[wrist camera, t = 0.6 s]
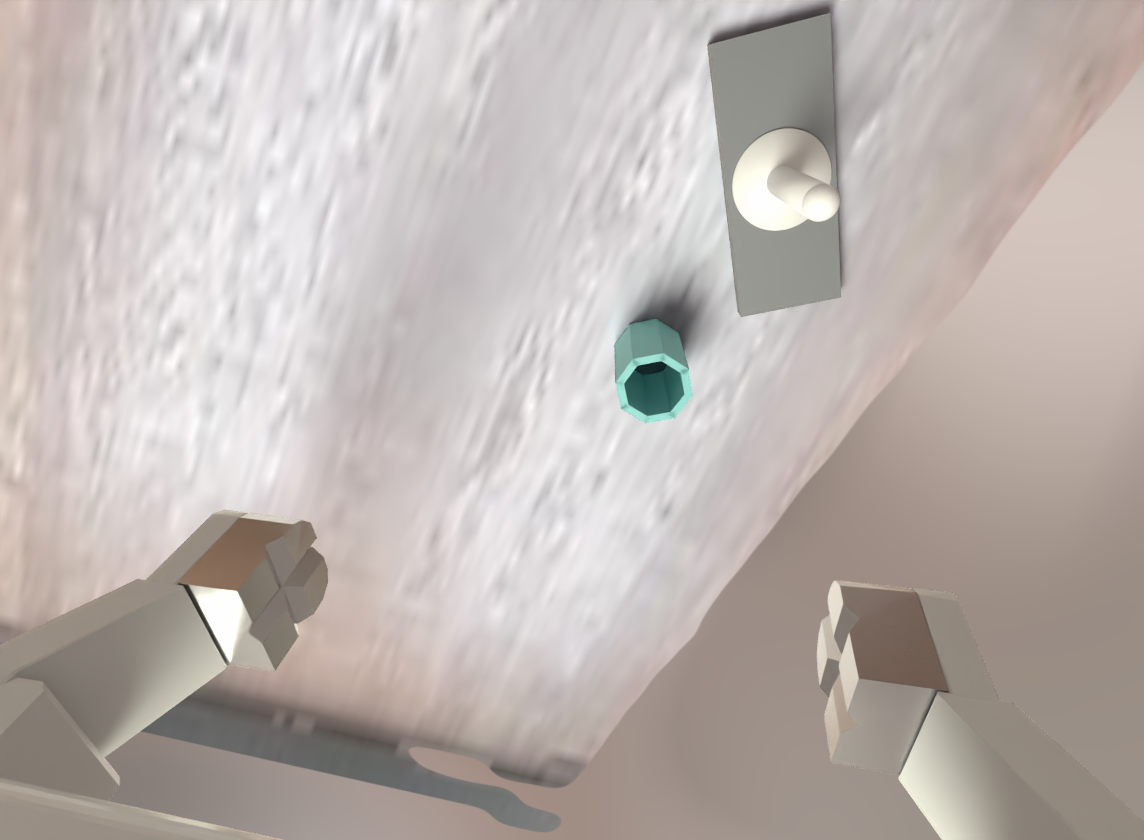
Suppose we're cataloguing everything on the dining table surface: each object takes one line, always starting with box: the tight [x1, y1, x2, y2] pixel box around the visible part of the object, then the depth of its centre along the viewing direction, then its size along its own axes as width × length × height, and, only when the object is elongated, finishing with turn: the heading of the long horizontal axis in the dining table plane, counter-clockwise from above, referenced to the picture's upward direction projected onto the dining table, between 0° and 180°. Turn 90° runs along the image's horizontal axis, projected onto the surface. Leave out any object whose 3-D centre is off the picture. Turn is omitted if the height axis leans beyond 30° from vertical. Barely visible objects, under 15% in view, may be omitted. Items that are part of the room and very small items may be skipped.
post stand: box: [707, 13, 841, 317], centre depth 43 cm, size 20×8×13 cm, turn 13°
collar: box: [615, 318, 693, 423], centre depth 52 cm, size 6×6×8 cm
